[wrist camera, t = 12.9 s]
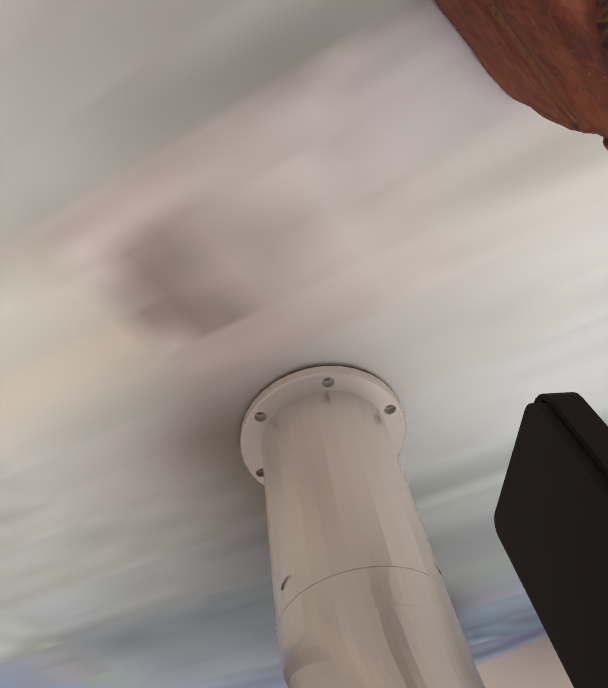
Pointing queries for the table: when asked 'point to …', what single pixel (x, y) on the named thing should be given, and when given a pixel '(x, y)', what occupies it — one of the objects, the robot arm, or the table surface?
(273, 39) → the table surface
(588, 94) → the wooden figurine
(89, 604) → the table surface
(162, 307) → the table surface
